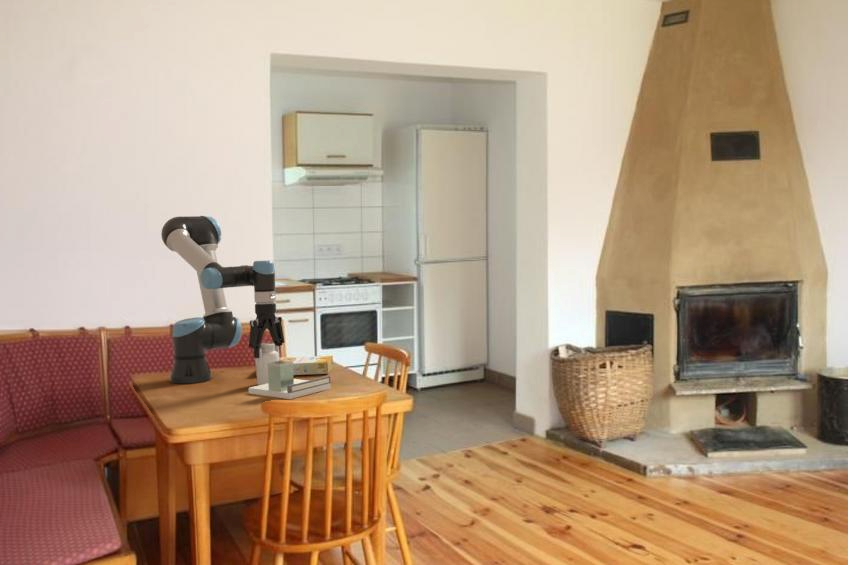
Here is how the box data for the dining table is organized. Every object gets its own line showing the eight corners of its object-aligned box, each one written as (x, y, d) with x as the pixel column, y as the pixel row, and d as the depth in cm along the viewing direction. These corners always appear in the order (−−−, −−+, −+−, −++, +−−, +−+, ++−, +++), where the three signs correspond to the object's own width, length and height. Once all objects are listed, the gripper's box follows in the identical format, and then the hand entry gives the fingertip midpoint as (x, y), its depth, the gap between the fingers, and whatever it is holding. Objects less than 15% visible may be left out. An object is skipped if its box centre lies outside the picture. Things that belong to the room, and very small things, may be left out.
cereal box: (328, 361, 318) (254, 363, 318) (328, 375, 318) (255, 377, 318) (332, 354, 338) (264, 356, 338) (333, 367, 339) (264, 369, 338)
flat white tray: (248, 393, 286) (248, 380, 286) (290, 383, 302) (289, 371, 302) (290, 399, 274) (289, 386, 274) (331, 388, 291) (330, 376, 290)
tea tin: (268, 389, 282) (267, 363, 281) (281, 386, 287) (280, 360, 286) (281, 391, 278) (280, 364, 277) (294, 388, 283) (293, 361, 282)
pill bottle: (274, 386, 297) (273, 345, 296) (254, 386, 299) (252, 345, 298) (283, 382, 305) (281, 342, 304) (262, 382, 307) (260, 342, 306)
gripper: (250, 306, 289) (253, 370, 291) (293, 300, 306) (295, 361, 308) (236, 305, 294) (239, 368, 295) (278, 300, 311) (281, 360, 312)
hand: (267, 364), depth 302 cm, fingers closed on pill bottle, 8 cm apart
